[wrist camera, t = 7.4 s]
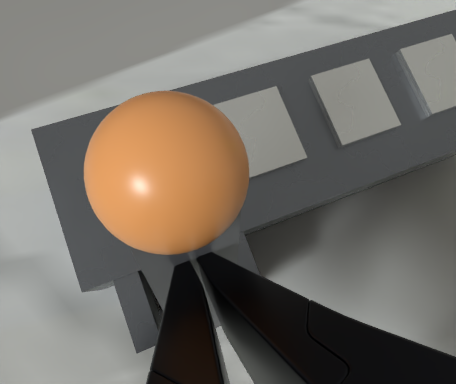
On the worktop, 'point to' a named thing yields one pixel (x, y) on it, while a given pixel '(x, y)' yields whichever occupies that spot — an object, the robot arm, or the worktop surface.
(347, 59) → the switch strip
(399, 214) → the worktop surface
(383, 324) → the worktop surface
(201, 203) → the orange knob lever
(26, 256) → the worktop surface
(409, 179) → the worktop surface
